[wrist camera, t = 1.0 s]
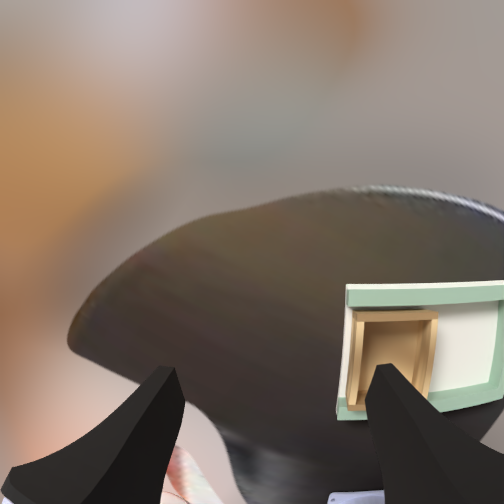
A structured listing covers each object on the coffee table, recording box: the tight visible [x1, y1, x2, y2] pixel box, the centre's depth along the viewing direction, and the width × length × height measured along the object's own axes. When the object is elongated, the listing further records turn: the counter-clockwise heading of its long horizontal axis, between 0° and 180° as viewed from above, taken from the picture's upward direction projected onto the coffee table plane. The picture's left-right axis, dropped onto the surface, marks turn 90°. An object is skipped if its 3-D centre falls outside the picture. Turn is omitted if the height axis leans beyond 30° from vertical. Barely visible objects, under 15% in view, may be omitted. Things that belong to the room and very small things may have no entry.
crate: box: [345, 308, 439, 411], centre depth 17 cm, size 7×6×4 cm
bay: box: [336, 280, 504, 420], centre depth 18 cm, size 11×16×3 cm
